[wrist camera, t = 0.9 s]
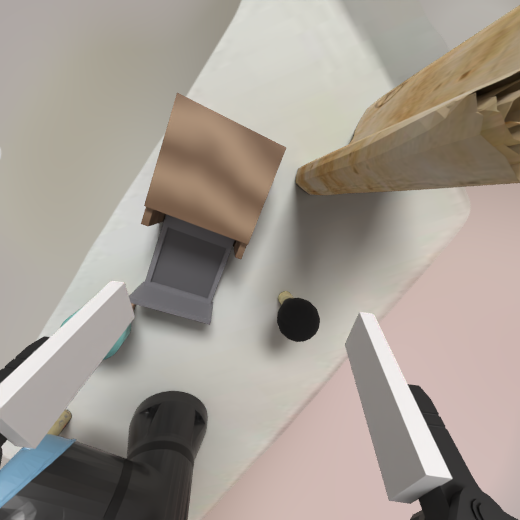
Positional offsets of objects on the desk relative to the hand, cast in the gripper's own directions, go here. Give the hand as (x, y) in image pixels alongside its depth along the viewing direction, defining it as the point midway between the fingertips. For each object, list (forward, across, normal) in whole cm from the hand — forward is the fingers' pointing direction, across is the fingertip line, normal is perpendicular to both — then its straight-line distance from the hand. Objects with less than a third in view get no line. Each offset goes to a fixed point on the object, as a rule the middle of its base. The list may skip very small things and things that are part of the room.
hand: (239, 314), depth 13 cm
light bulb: (+25, -6, +20) cm, 32 cm away
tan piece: (+36, -14, -7) cm, 39 cm away
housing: (+28, +8, +1) cm, 29 cm away
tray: (+24, +11, +11) cm, 28 cm away
